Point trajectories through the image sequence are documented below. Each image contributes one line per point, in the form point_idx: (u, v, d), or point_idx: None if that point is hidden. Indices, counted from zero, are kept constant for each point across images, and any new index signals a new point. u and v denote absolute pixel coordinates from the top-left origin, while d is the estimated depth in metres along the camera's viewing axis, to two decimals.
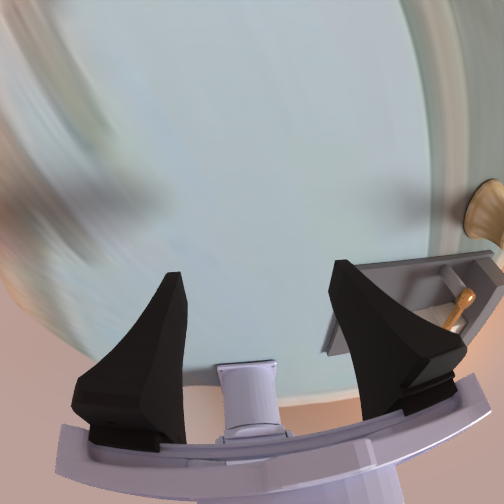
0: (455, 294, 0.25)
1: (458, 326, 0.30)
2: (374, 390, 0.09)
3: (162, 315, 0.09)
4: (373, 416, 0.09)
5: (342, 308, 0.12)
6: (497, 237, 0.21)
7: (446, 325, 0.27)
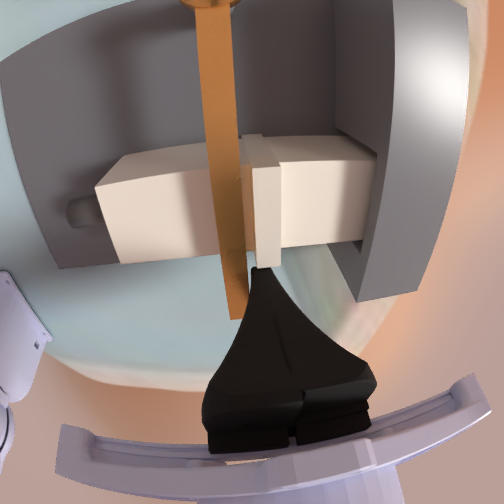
0: None
1: (343, 168, 0.11)
2: None
3: (271, 308, 0.10)
4: None
5: None
6: None
7: (203, 104, 0.08)
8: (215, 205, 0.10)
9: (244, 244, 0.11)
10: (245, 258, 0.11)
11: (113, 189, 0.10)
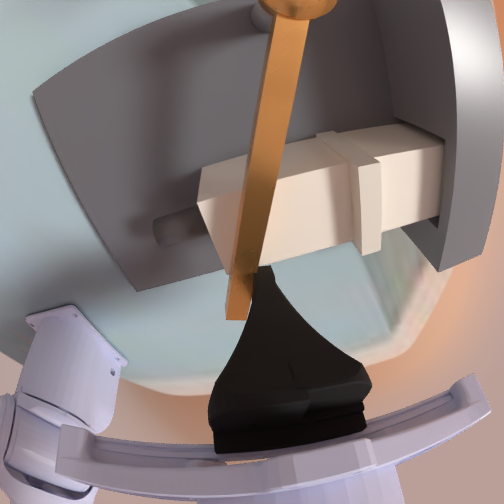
0: None
1: (420, 156, 0.10)
2: None
3: (276, 308, 0.10)
4: None
5: None
6: None
7: (257, 107, 0.08)
8: (244, 206, 0.10)
9: (261, 249, 0.11)
10: (258, 262, 0.11)
11: (218, 202, 0.11)
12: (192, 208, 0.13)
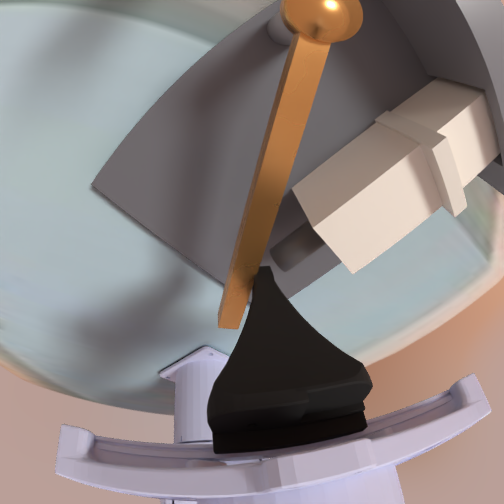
0: None
1: (470, 112, 0.09)
2: None
3: (275, 308, 0.10)
4: None
5: None
6: None
7: (270, 126, 0.08)
8: (248, 222, 0.10)
9: (259, 263, 0.11)
10: None
11: (330, 220, 0.12)
12: (301, 228, 0.15)
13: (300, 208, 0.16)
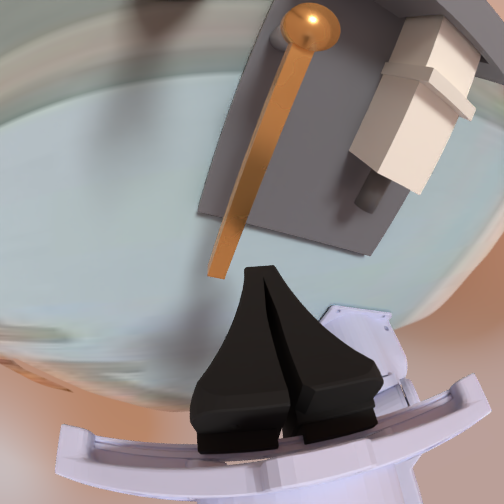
0: None
1: (442, 36, 0.09)
2: None
3: (262, 309, 0.10)
4: (286, 435, 0.09)
5: None
6: None
7: (264, 108, 0.11)
8: (241, 179, 0.13)
9: (247, 216, 0.14)
10: (243, 227, 0.14)
11: (386, 162, 0.14)
12: (369, 177, 0.17)
13: (361, 162, 0.18)
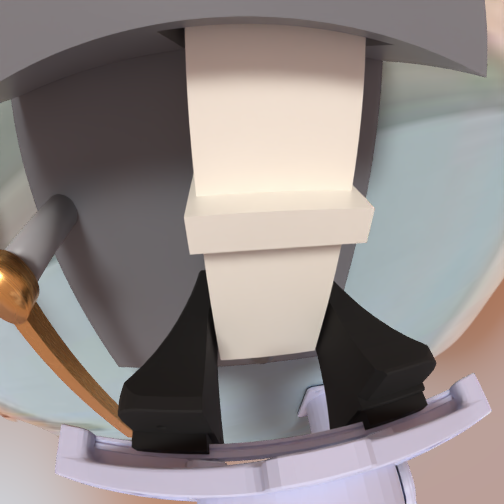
0: None
1: (202, 80, 0.05)
2: (337, 398, 0.09)
3: (205, 313, 0.09)
4: (337, 425, 0.09)
5: None
6: None
7: None
8: (86, 403, 0.11)
9: (114, 417, 0.12)
10: (119, 421, 0.12)
11: (225, 349, 0.11)
12: None
13: None
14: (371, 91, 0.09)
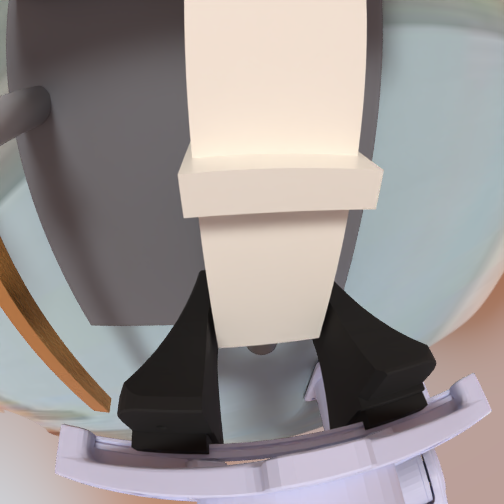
0: None
1: (202, 37, 0.04)
2: (337, 398, 0.09)
3: (204, 313, 0.09)
4: (337, 426, 0.09)
5: None
6: None
7: None
8: (31, 347, 0.08)
9: (68, 373, 0.09)
10: (75, 381, 0.09)
11: (223, 335, 0.10)
12: None
13: None
14: None
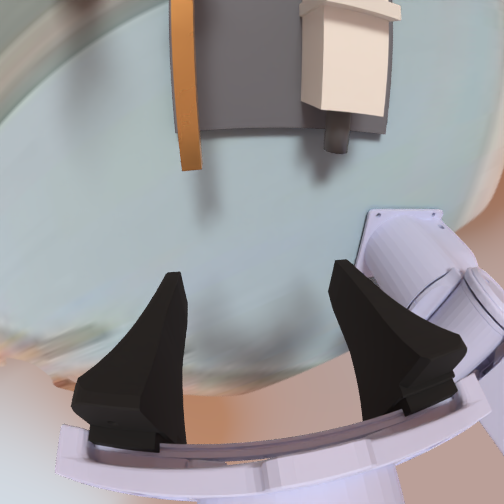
0: None
1: None
2: (374, 390, 0.09)
3: (162, 315, 0.09)
4: (373, 416, 0.09)
5: (342, 308, 0.12)
6: None
7: None
8: (173, 53, 0.10)
9: (194, 85, 0.11)
10: (195, 99, 0.11)
11: (326, 95, 0.13)
12: (327, 117, 0.16)
13: None
14: None
